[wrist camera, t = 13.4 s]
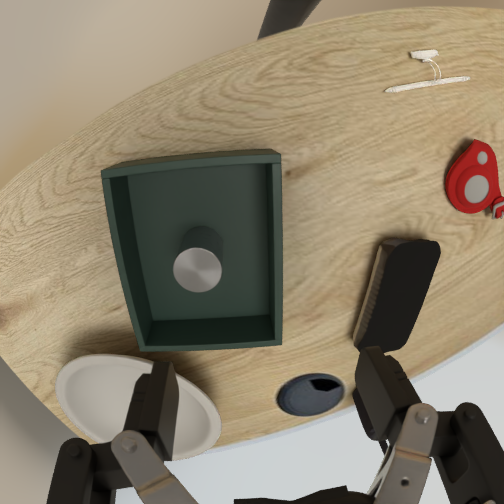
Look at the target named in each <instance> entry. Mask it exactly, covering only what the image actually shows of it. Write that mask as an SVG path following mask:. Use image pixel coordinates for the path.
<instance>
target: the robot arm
mask: <svg viewBox="0 0 504 504" xmlns="http://www.w3.org/2000/svg"><path fill="white" fill-rule="evenodd" d="M355 383H356V386H357V389H358V391H359V393H360V396H361V398H362V400H363V403H364V405H365V408H366V410H367V413H368V415H369V417H370V420H371V422H372V425H373V427H374V430H375V432H376V435H377V437H378V440H379V442H380V441H383V440H387V439H388V441H389V443H390V445H389V446H388V449H387V451H386V454H385V456H384V458H383V461H382V464H381V466H380V468H379V470H378V473H377V475H376V477H375V479H374V481H373V483H372V485H371V486H370V488H369V490H368V492H367V494H364V493H360V492H354V491H348V490H347V486H346V485H345V486H341V487H336V488H331V489H325V490H320V491H318V492H315V493H313V494H310V495H307V496H305V497H302V498H299V499H296V500H293V501H287V500H277V499H268V498H251V499H234V504H418V503H419V501H420V498H421V495H422V492H423V489H424V486H425V483H426V479H427V476H428V473H429V470H430V466H431V461H432V459H431V458H429V457H433V458H434V461H435V463H436V466H437V468H438V471H439V474H440V476H441V479H442V482H443V484H444V487H445V490H446V493H447V495H448V498H449V501H450V504H504V451H503V449H502V447H501V445H500V443H499V441H498V440H497V438H496V436H495V434H494V432H493V430H492V428H491V427H490V425H489V423H488V421H487V420H486V418H485V416H484V414H483V413H482V411H481V409H480V408H479V407H478V406H477V405H475V404H473V403H468V402H465V403H462V404H460V405H459V406H458V407H457V408H456V410H455V411H445V412H444V411H443V412H440V411H436V410H435V409H434V408H433V407H432V406H431V405H429V404H425V403H422V401H421V400H420V398H419V396H418V395H417V393H416V391H415V389H414V387H413V386H412V384H411V382H410V381H409V379H407V375H406V374H405V372H403V369H402V367H401V365H400V364H399V362H398V361H397V360H395V359H394V358H393V357H392V356H390V355H388V356H385V355H384V353H383V351H382V350H381V348H380V347H379V346H373V347H366V348H362V349H361V351H360V355H359V359H358V363H357V367H356V371H355ZM178 405H179V386H178V382H177V378H176V374H175V371H174V367H173V363H172V362H154V363H153V366H152V370H151V373H143V374H142V375H141V376H140V377H139V378H138V380H137V381H136V383H135V386H134V390H133V393H132V397H131V401H130V405H129V408H128V412H127V416H126V420H125V424H124V428H123V430H122V432H120V433H119V434H117V435H116V436H115V437H114V438H113V440H112V441H110V442H106V443H99V444H92V445H89V443H88V442H87V441H86V440H84V439H81V438H71V439H69V440H67V441H66V442H64V443H63V444H62V446H61V448H60V451H59V454H58V458H57V462H56V465H55V469H54V473H53V477H52V481H51V486H50V490H49V494H48V499H47V504H115V498H116V489H121V488H127V487H134V488H135V490H136V491H137V494H138V496H139V497H140V499H141V500H142V502H143V503H144V504H198V503H197V501H196V500H195V499H194V498H193V497H192V496H191V495H190V494H189V492H188V491H187V490H186V489H185V488H184V486H183V485H182V484H181V483H180V482H179V480H178V479H177V478H176V477H175V476H174V475H173V474H172V473H171V472H170V471H169V470H168V469H167V467H166V466H165V465H164V461H172V456H173V446H174V438H175V429H176V421H177V413H178Z"/></svg>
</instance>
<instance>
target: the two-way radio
mask: <svg viewBox="0 0 504 504" xmlns="http://www.w3.org/2000/svg"><path fill="white" fill-rule="evenodd" d="M353 399H354V402H355V405H356V408H357V411H358V414H359V417H360V420H361V423H362V425H363V428H364V430H365V432H366V434H367V436H368V437H369V438H370V439H371V440H376V441H379V440H378V437H377V435H376V432H375V430H374V427H373V425H372V422H371V420H370V417H369V415H368V413H367V410H366V408H365V405H364V403H363V400H362V398H361V396H360V393H359V391H358V389H356V390H355V391H354V392H353ZM379 444H380V446H381V448H382V451H383V453H384V455H385V454H386V451H387V449H388V445H387V443H386V440H383V441H380V442H379Z"/></svg>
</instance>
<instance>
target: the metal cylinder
mask: <svg viewBox="0 0 504 504" xmlns="http://www.w3.org/2000/svg"><path fill="white" fill-rule="evenodd" d="M222 264H223V241H222V239H221V237H220V235H219V234H218V233H217V232H216V231H215V230H213V229H211V228H209V227H204V226H200V227H195V228H192V229H191V230H189V231H188V232H187V233H186V234H185V236H184V238H183V240H182V243H181V245H180V248H179V250H178V253H177V256H176V258H175V261H174V264H173V273H174V277H175V279H176V281H177V282H178V283H179V284H180V285H181V286H182V287H183V288H185V289H187V290H189V291H192V292H205V291H208V290H210V289H212V288H214V287H215V286H216V285H217V284H218V283H219V281H220V279H221V276H222Z"/></svg>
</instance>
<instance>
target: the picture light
mask: <svg viewBox="0 0 504 504" xmlns="http://www.w3.org/2000/svg"><path fill="white" fill-rule="evenodd" d="M410 53H411V56H412V58H417V59H424V60H422V62H428V63H429V62H430V61H432V59H429V58H433V57H435V56H438V52H437V50H424V51H415V52H410ZM432 62H434V61H432ZM434 63H435V62H434ZM429 64H430V65H431V66H432V64H431V63H429ZM435 64H436V63H435ZM436 65H437V64H436ZM437 67H438V65H437ZM432 68H433V70H434V67H433V66H432ZM438 69H439V67H438ZM439 72H440V69H439ZM434 73H435V70H434ZM440 78H441V72H440ZM440 78H439V79H437V80H435V79H436V73H435V79H434V80H430V81H423V82H417V83H411V84H406V85H400V86H393V87H390V88H388V89H386V90H385V92H388V93H392V92H393V93H395V92H399V91H404V90H409V89H415V88H420V87H426V86H432V85H439V84H446V83H453V82H461V81H468V80H469V79H470V77H468V76H461V77H452V78H444V79H440Z"/></svg>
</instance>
